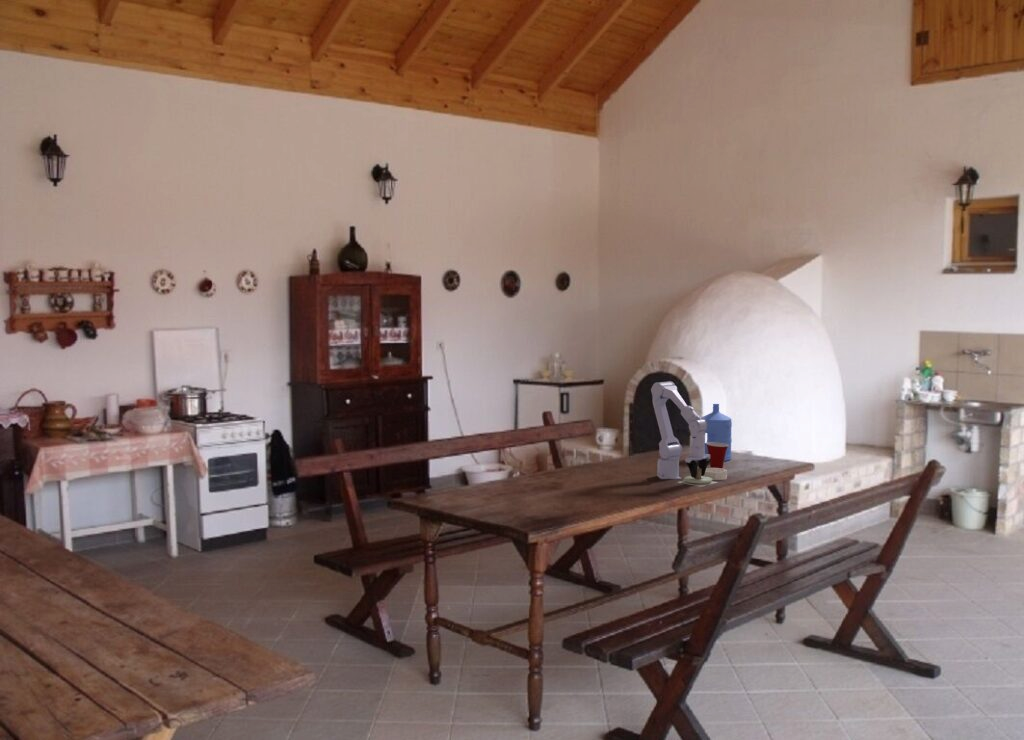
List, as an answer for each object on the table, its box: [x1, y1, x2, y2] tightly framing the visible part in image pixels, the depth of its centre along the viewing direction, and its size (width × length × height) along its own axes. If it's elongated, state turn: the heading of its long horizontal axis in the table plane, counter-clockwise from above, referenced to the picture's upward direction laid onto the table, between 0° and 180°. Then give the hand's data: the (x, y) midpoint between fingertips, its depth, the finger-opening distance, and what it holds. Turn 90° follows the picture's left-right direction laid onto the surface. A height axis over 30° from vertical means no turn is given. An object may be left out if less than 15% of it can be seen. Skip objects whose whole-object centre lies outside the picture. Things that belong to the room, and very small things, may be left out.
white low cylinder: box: [704, 467, 728, 481], centre depth 419 cm, size 11×11×4 cm
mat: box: [676, 480, 719, 488], centre depth 410 cm, size 13×13×1 cm
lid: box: [683, 467, 713, 484], centre depth 409 cm, size 12×12×6 cm
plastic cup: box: [705, 441, 729, 469], centre depth 445 cm, size 11×11×12 cm
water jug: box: [700, 403, 733, 462], centre depth 468 cm, size 16×16×28 cm
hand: (697, 476), depth 410 cm, fingers open, 5 cm apart
